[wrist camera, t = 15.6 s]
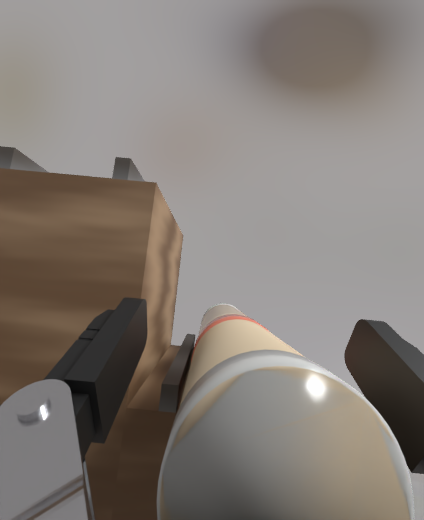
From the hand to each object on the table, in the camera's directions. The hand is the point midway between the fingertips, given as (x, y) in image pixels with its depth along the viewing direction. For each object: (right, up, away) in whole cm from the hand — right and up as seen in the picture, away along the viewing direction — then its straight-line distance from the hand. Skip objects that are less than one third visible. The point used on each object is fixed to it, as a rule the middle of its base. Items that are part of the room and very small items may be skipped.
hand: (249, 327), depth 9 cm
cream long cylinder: (0, -5, +5) cm, 7 cm away
